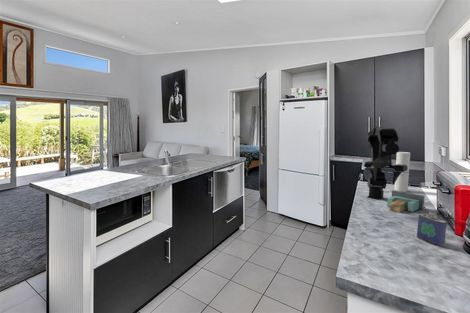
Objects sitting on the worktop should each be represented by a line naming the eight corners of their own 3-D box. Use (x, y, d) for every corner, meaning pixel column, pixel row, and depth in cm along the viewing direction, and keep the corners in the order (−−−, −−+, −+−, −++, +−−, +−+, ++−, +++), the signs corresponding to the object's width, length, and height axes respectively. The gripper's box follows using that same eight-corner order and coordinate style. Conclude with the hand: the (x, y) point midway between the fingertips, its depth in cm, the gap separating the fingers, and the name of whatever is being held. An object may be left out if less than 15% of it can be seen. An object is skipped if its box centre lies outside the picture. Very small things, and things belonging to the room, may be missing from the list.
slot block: (387, 206, 126) (387, 198, 126) (394, 203, 131) (394, 195, 130) (412, 211, 117) (413, 203, 116) (418, 208, 122) (419, 200, 121)
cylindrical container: (409, 192, 154) (412, 153, 151) (397, 191, 155) (399, 153, 152) (404, 189, 161) (407, 152, 158) (392, 189, 162) (394, 151, 159)
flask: (446, 246, 83) (449, 216, 82) (440, 248, 82) (442, 217, 81) (419, 235, 92) (422, 208, 91) (413, 236, 91) (415, 209, 90)
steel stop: (391, 203, 132) (391, 190, 131) (394, 201, 134) (395, 189, 133) (422, 209, 120) (423, 196, 120) (424, 208, 123) (426, 194, 122)
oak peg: (390, 211, 120) (390, 203, 119) (397, 206, 126) (397, 199, 126) (399, 213, 117) (399, 205, 116) (406, 208, 123) (406, 201, 123)
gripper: (359, 152, 128) (358, 181, 130) (399, 155, 113) (397, 188, 114) (370, 151, 134) (368, 178, 136) (409, 153, 119) (406, 184, 121)
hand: (383, 182), depth 127 cm, fingers open, 9 cm apart
